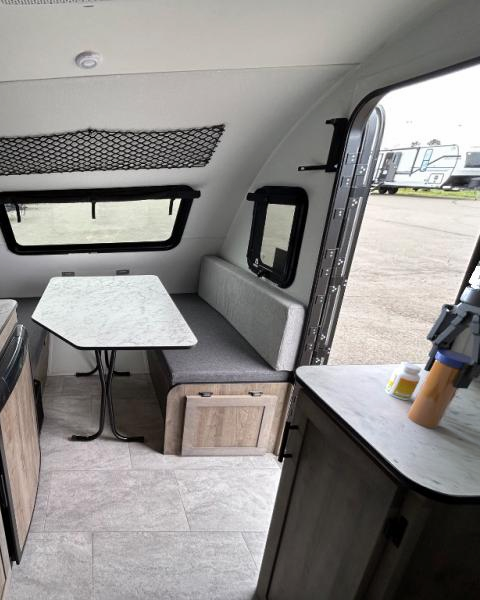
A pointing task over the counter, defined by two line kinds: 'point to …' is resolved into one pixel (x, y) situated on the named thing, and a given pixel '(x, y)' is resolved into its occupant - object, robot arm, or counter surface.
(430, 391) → the jar
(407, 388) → the supplement bottle
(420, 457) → the counter surface
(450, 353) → the jar lid
